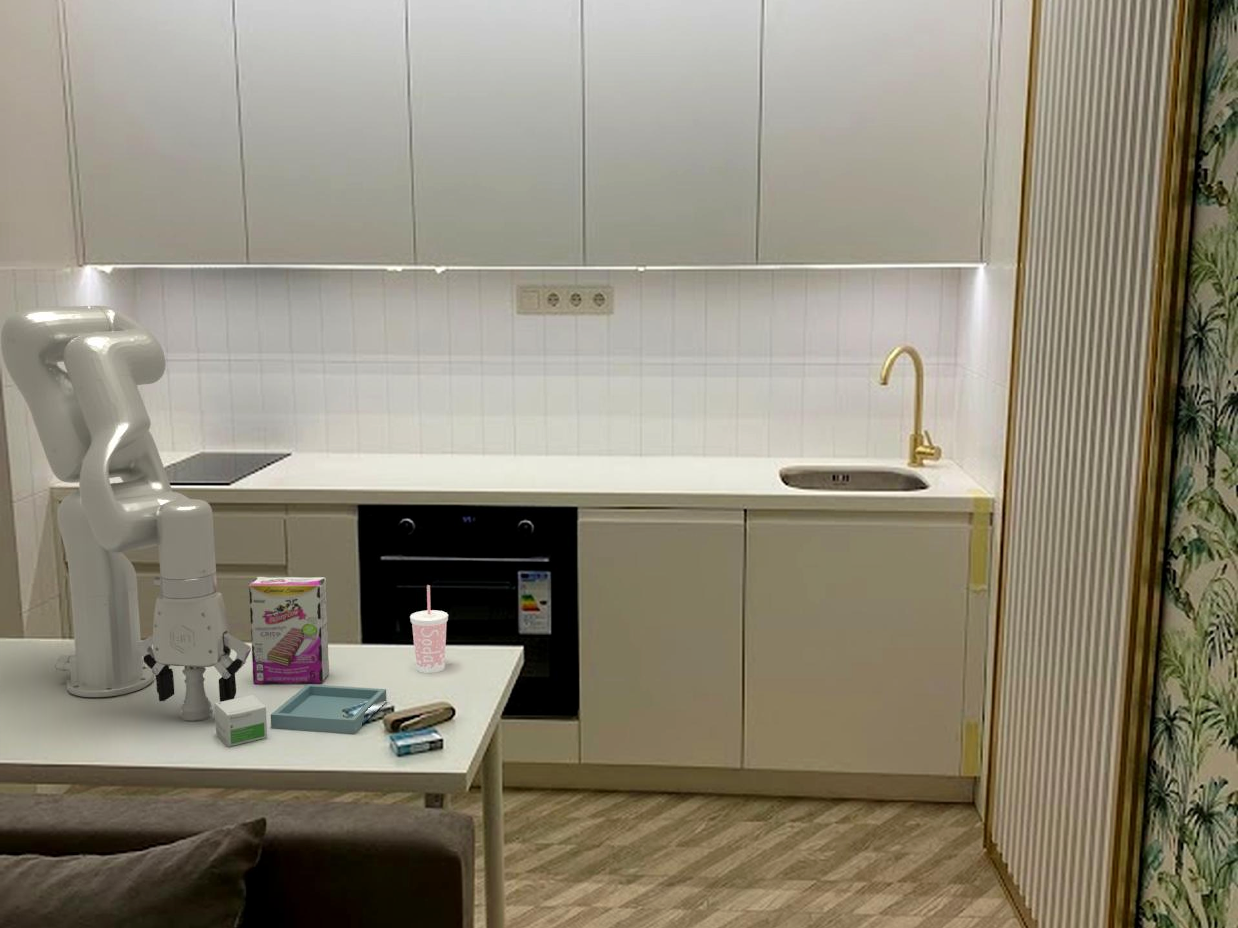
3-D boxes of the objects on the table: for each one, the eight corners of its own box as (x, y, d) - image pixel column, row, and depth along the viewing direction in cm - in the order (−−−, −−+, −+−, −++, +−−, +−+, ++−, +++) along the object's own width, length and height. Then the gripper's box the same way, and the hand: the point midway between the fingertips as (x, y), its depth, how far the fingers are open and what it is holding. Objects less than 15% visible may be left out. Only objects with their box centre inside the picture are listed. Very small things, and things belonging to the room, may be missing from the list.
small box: (228, 748, 164) (226, 714, 163) (215, 735, 168) (213, 701, 168) (269, 738, 167) (267, 705, 166) (254, 726, 172) (253, 693, 171)
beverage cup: (405, 672, 194) (403, 589, 191) (419, 660, 200) (417, 579, 197) (441, 675, 192) (439, 591, 190) (454, 663, 198) (452, 581, 196)
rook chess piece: (198, 708, 178) (195, 657, 177) (219, 714, 176) (216, 662, 175) (173, 718, 174) (170, 665, 173) (194, 724, 172) (191, 671, 171)
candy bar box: (252, 685, 188) (247, 584, 185) (260, 674, 193) (255, 575, 190) (324, 684, 188) (319, 583, 185) (330, 673, 193) (326, 575, 190)
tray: (271, 727, 171) (270, 714, 170) (308, 696, 183) (307, 684, 183) (354, 733, 169) (354, 720, 168) (386, 701, 181) (386, 689, 181)
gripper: (119, 590, 170) (128, 706, 172) (233, 595, 167) (240, 712, 169) (148, 577, 177) (156, 688, 180) (257, 581, 174) (264, 694, 177)
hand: (197, 699), depth 174 cm, fingers open, 9 cm apart
